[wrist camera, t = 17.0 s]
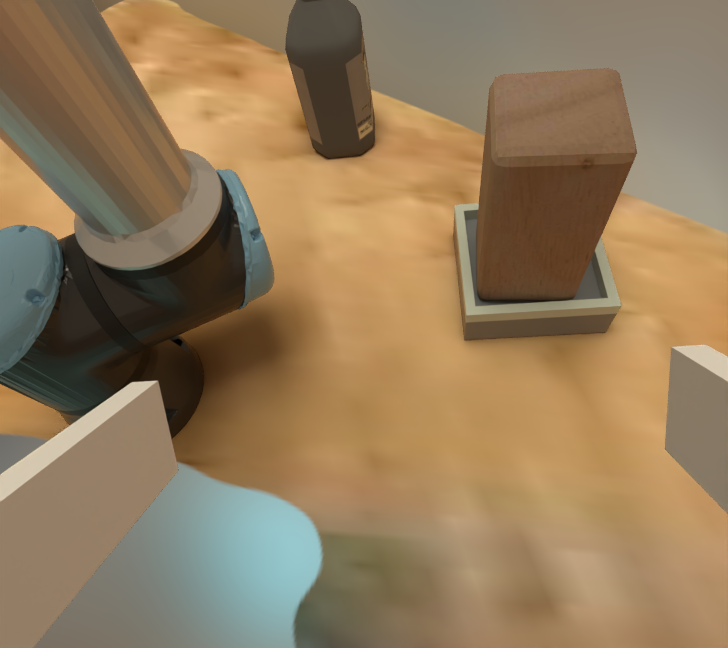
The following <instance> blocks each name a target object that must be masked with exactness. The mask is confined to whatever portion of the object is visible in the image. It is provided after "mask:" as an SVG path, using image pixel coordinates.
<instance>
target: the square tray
mask: <svg viewBox="0 0 728 648" xmlns="http://www.w3.org/2000/svg"><path fill="white" fill-rule="evenodd" d="M478 207H479V203H473V204H462V205H454V233H453V236H454V246H455V255H456V265H457V274H458V284H459V294H460V303H461V313H462V322H463V332H464V340H476V339H494V338H513V337H531V336H549V335H567V334H585V333H603V332H606V330H607V329H608V327H609V325H610V324H611V322H612V321H613V319H614V317H615V316H616V314H617V312H618V311H619V309H620V307H621V303H620V299H619V296H618V293H617V289H616V286H615V282H614V279H613V276H612V272H611V269H610V265H609V262H608V259H607V255H606V252H605V248H604V245H603V242H602V238H601V237H600V240H599V242H598V244H597V246H596V249H595V251H594V253H593V256H592V258H591V260H590V263H589V265H588V267H587V269H586V272H585V274H584V276H583V279H582V281H581V283H580V286H579V288H578V290H577V292H576V295H575V297H574V298H573V299H572V300H568V301H521V300H484V299H481V298H480V296H479V294H478V292H477V273H476V229H477V218H478Z"/></svg>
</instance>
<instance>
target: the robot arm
mask: <svg viewBox="0 0 728 648" xmlns="http://www.w3.org/2000/svg"><path fill="white" fill-rule="evenodd" d="M0 138H1V139H2V140H3V141H4V142H5V143H6V144H7V145H8V146H9V147H10V148H11V149H12V150H13V151H14V152H15V153H16V154H17V155H18V156H19V157H20V158H21V159H22V160H23V161H24V162H25V163H26V164H27V165H28V166H29V167H30V168H31V169H32V170H33V171H34V172H35V173H36V174H37V175H38V176H39V177H40V178H41V179H42V180H43V181H44V182H45V183H46V184H47V185H48V186H49V187H50V188H51V189H52V190H53V191H54V192H55V193H56V194H57V195H58V196H59V197H60V198H61V199H62V200H63V201H64V202H65V203H66V204H67V205H68V206H69V207H70V208H71V209H72V210H73V211H74V212H75V219H74V230H75V233H74V234H72V235H69V236H67V237H64V238H62V239H59V240H57V238H56V237H55V236H54V235H52V234H51V233H49V232H48V231H45V230H42V229H40V228H38V227H35V226H29V227H28V226H26V225H15V226H10V227H7V228H4V229H1V230H0V384H2V385H4V386H6V387H8V388H10V389H12V390H14V391H16V392H19V393H21V394H23V395H25V396H27V397H29V398H31V399H33V400H36V401H38V402H40V403H42V404H44V405H46V406H48V407H51V408H53V409H55V410H57V411H59V412H60V414H61V415H62V416H63V418H64V419H65V420H66V422H67V423H68V424H69V425H70V426H69V427H67V428H66V429H64V430H63V431H62V432H60V433H59V434H57V435H56V436H54V437H53V438H52V439H50V440H49V441H47V442H46V443H44V444H43V445H42V446H40V447H39V448H37V449H36V450H35V451H33V452H32V453H30V454H29V455H27V456H26V457H25V458H23V459H22V460H20V461H19V462H17V463H16V464H15V465H13V466H12V467H10V468H9V469H8V470H6V471H5V472H3V473H2V474H0V648H34V646H35V645H36V644H37V643H38V641H39V640H40V639H41V638H42V636H43V635H44V634H45V633H46V632H47V630H48V629H49V628H50V627H51V625H52V624H53V623H54V622H55V621H56V619H57V618H58V617H59V616H60V614H61V613H62V612H63V611H64V610H65V608H66V607H67V606H68V605H69V603H70V602H71V601H72V600H73V598H74V597H75V596H76V595H77V594H78V592H79V591H80V590H81V589H82V588H83V586H84V585H85V584H86V582H87V581H88V580H89V579H90V578H91V577H92V575H93V574H94V573H95V572H96V570H97V569H98V568H99V567H100V566H101V564H102V563H103V562H104V561H105V559H106V558H107V557H108V556H109V555H110V553H111V552H112V551H113V550H114V548H115V547H116V546H117V545H118V544H119V542H120V541H121V540H122V538H123V537H124V536H125V535H126V534H127V533H128V531H129V530H130V529H131V528H132V526H133V525H134V524H135V523H136V521H137V520H138V519H139V518H140V517H141V515H142V514H143V513H144V512H145V510H146V509H147V508H148V507H149V506H150V504H151V503H152V502H153V501H154V499H155V498H156V497H157V496H158V495H159V493H160V492H161V491H162V490H163V488H164V487H165V486H166V485H167V484H168V482H169V481H170V480H171V478H172V477H173V476H174V475H175V474H176V473H177V471H178V466H177V461H176V457H175V453H174V448H173V444H172V440H171V438H172V437H174V436H175V435H176V434H177V433H178V432H179V431H180V430H181V429H182V428H183V427H184V425H185V424H186V423H187V422H188V420H189V419H190V417H191V416H192V414H193V413H194V411H195V409H196V407H197V405H198V402H199V400H200V397H201V393H202V389H203V368H202V364H201V361H200V359H199V357H198V355H197V353H196V352H195V350H194V349H193V348H192V347H191V346H190V345H189V344H188V343H187V342H186V341H185V340H184V339H183V338H182V337H180V336H179V335H180V334H182V333H184V332H186V331H189V330H191V329H193V328H196V327H198V326H200V325H202V324H205V323H207V322H209V321H212V320H214V319H216V318H218V317H221V316H223V315H225V314H227V313H230V312H232V311H234V310H237V309H241V308H244V307H245V306H246V305H247V304H248V303H249V302H251V301H253V300H255V299H257V298H259V297H261V296H262V295H264V294H266V293H267V292H268V291H269V290H270V289H271V288H272V286H273V283H274V269H273V265H272V261H271V258H270V254H269V251H268V248H267V245H266V242H265V239H264V237H263V235H262V233H261V232H260V227H259V224H258V220H257V217H256V215H255V212H254V209H253V207H252V205H251V202H250V200H249V197H248V195H247V193H246V191H245V189H244V186H243V184H242V182H241V181H240V179H239V177H238V175H237V174H236V173H235V172H234V171H232V170H230V169H225V170H216V171H215V169H214V168H213V167H212V166H211V164H210V163H209V162H208V161H207V160H206V159H205V158H203V157H202V156H200V155H199V154H196V153H194V152H192V151H188V150H185V149H180V148H179V146H178V144H177V143H176V141H175V139H174V137H173V136H172V134H171V132H170V131H169V129H168V127H167V126H166V124H165V122H164V121H163V119H162V117H161V115H160V114H159V112H158V110H157V109H156V107H155V105H154V104H153V102H152V100H151V98H150V97H149V95H148V93H147V92H146V90H145V88H144V87H143V85H142V83H141V82H140V80H139V78H138V76H137V75H136V73H135V71H134V70H133V68H132V66H131V65H130V63H129V61H128V59H127V58H126V56H125V54H124V53H123V51H122V49H121V48H120V46H119V44H118V43H117V41H116V39H115V37H114V36H113V34H112V32H111V31H110V29H109V27H108V26H107V24H106V22H105V20H104V19H103V17H102V15H101V14H100V12H99V10H98V9H97V7H96V5H95V4H94V2H93V0H0ZM665 450H666V451H667V452H668V453H669V454H670V455H671V456H672V457H673V458H674V459H675V460H676V461H677V462H678V463H679V464H680V465H681V466H682V467H683V468H684V469H685V470H686V471H687V472H688V474H689V475H690V476H691V477H692V478H693V479H694V480H695V481H696V482H697V483H698V484H699V485H700V486H701V487H702V488H703V489H704V490H705V491H706V492H707V493H708V494H709V495H710V496H711V497H712V498H713V499H714V500H715V501H716V502H717V503H718V504H719V505H720V506H721V507H722V509H723V510H724V511H725V512H726V513H727V514H728V357H727V356H726V355H724V354H722V353H720V352H718V351H716V350H714V349H712V348H711V347H709V346H707V345H693V346H678V347H671V360H670V376H669V391H668V407H667V423H666V439H665Z"/></svg>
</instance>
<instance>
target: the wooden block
mask: <svg viewBox="0 0 728 648" xmlns="http://www.w3.org/2000/svg"><path fill="white" fill-rule="evenodd" d="M636 154H637V151H636V144H635V140H634V136H633V131H632V127H631V122H630V118H629V114H628V110H627V105H626V101H625V97H624V93H623V88H622V84H621V79H620V75H619V73H618V72H617V71H616V70H613V69H609V68H604V69H587V70H571V71H554V72H539V73H522V74H505V75H500V76H498V77H495V79H494V82H493V83H492V85H491V87H490V89H489V100H488V110H487V122H486V132H485V142H484V153H483V164H482V175H481V186H480V196H479V207H478V218H477V229H476V273H477V292H478V294H479V296H480V298H481V299H484V300H521V301H568V300H572V299H573V298H574V297H575V295H576V292H577V290H578V288H579V286H580V283H581V281H582V279H583V276H584V274H585V272H586V269H587V267H588V265H589V263H590V260H591V258H592V256H593V253H594V251H595V249H596V246H597V244H598V242H599V240H600V237H601V235H602V233H603V230H604V228H605V226H606V224H607V221H608V219H609V217H610V214H611V212H612V210H613V207H614V205H615V203H616V201H617V198H618V196H619V194H620V191H621V189H622V187H623V184H624V182H625V180H626V178H627V175H628V173H629V171H630V168H631V166H632V164H633V161H634V159H635V157H636Z"/></svg>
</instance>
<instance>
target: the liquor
mask: <svg viewBox="0 0 728 648" xmlns="http://www.w3.org/2000/svg"><path fill="white" fill-rule="evenodd" d="M285 50H286V53H287V57H288V60H289V64H290V67H291V71H292V74H293V78H294V81H295V85H296V88H297V92H298V96H299V99H300V103H301V106H302V110H303V113H304V117H305V120H306V124H307V127H308V131H309V134H310V138H311V141H312V145H313V148H314V149H315V150H317V151H318V152H319V153H321V154H322V155H324V156H326V157H327V158H338V157H347V156H357V155H361V154H363V153H364V152H365V151H366V150H368V149H369V148H370V147H371V146H373V143H374V141H375V117H374V110H373V103H372V95H371V88H370V82H369V74H368V67H367V60H366V53H365V45H364V38H363V31H362V24H361V16H360V14H359V12H358V10H357V8H356V6H355V5H353V4H352V3H351V2H350V1H348V0H296V3H295V5H294V7H293V9H292V11H291V13H290V16H289V22H288V28H287V35H286V49H285Z"/></svg>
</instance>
